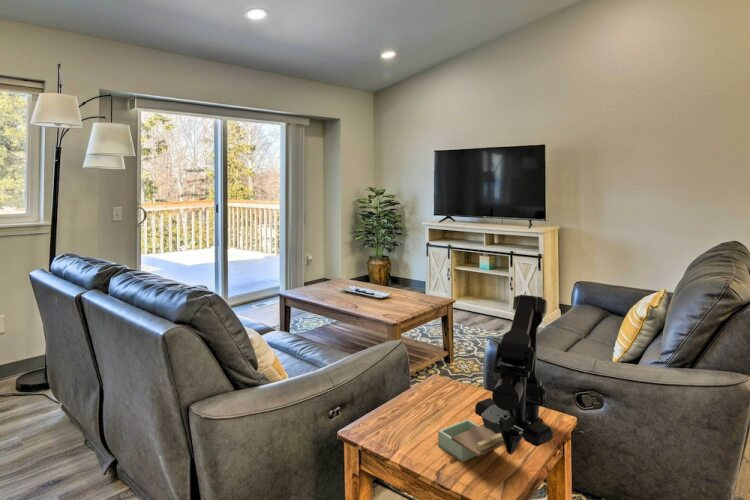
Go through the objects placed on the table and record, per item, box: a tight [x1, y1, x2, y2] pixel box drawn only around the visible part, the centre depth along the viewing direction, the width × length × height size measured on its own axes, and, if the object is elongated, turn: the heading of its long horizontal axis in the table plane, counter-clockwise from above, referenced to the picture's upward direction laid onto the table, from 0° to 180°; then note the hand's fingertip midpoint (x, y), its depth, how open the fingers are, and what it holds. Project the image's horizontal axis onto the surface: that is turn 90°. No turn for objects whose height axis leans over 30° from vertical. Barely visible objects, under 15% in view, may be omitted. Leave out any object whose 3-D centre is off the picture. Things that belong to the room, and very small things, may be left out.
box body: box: [437, 419, 480, 463], centre depth 122 cm, size 11×9×4 cm
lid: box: [452, 423, 505, 457], centre depth 117 cm, size 12×9×2 cm
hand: (510, 453), depth 110 cm, fingers closed
